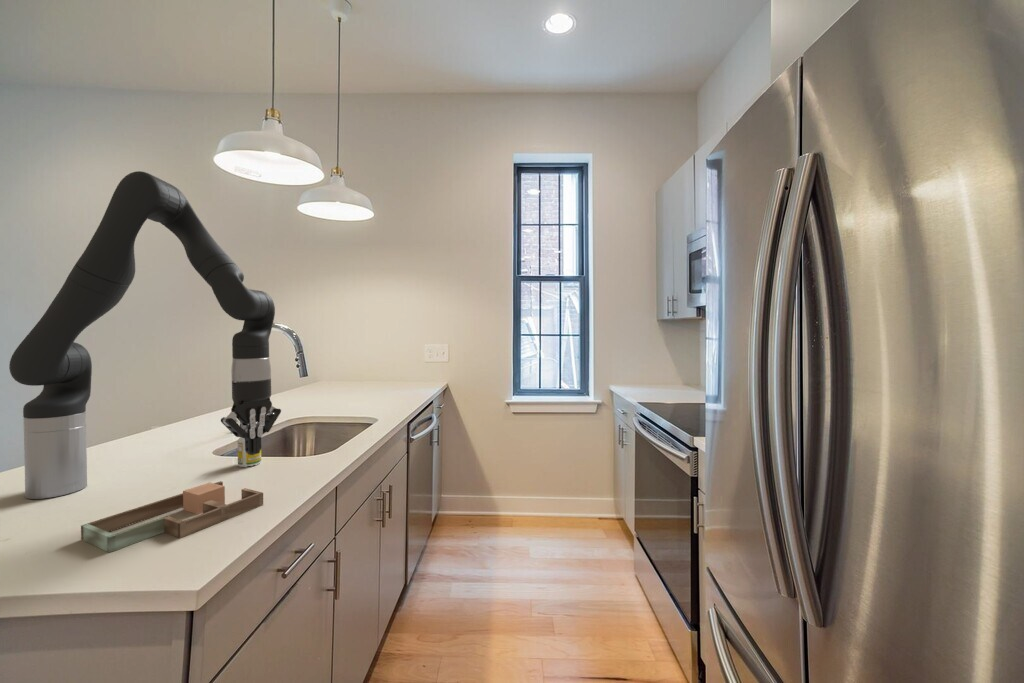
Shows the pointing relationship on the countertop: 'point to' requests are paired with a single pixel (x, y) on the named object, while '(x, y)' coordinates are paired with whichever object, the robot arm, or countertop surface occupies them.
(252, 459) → the supplement bottle
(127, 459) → the countertop surface
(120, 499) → the countertop surface
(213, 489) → the terracotta block
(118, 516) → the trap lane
